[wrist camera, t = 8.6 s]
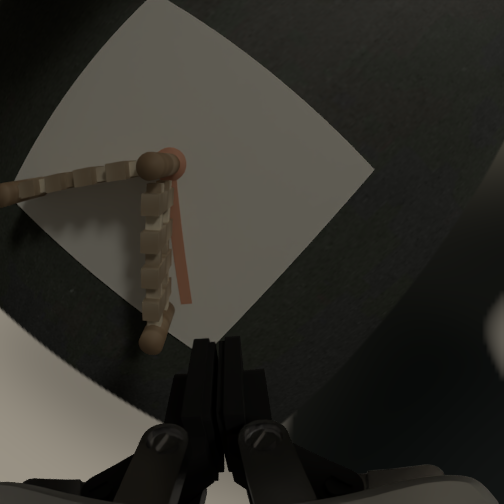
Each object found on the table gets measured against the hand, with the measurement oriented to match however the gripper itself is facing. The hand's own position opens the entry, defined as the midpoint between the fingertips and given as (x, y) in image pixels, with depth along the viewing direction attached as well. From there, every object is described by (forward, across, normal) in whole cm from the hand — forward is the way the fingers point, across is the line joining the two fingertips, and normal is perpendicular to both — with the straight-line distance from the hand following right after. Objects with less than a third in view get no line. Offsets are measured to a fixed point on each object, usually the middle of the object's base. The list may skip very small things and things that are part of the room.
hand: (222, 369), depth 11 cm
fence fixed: (+16, +10, -7) cm, 21 cm away
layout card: (+16, +4, -6) cm, 18 cm away
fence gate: (+16, +5, 0) cm, 17 cm away
